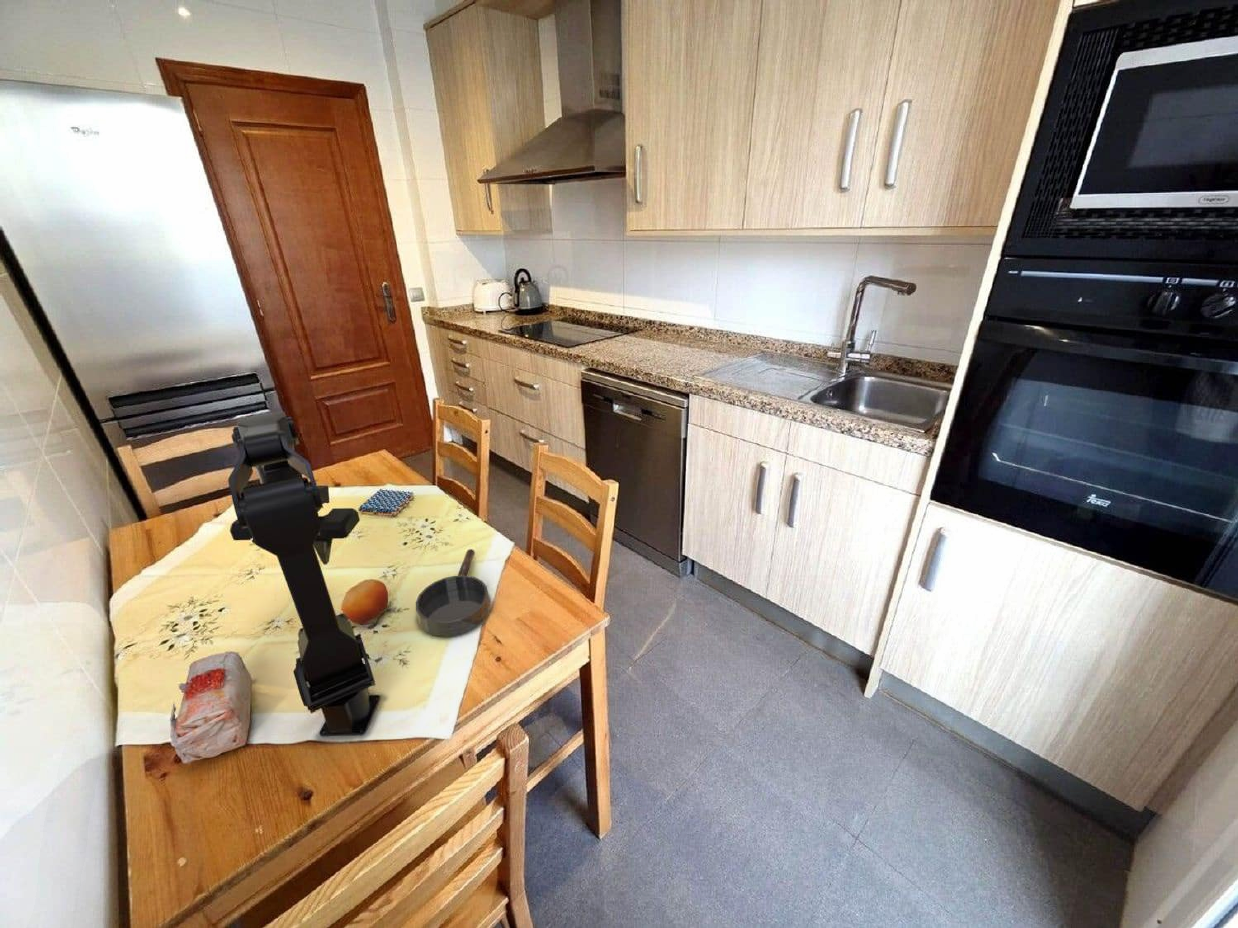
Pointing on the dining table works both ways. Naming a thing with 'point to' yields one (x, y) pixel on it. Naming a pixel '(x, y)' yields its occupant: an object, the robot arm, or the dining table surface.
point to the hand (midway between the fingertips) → (309, 563)
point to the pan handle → (466, 563)
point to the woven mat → (386, 502)
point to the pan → (452, 606)
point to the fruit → (365, 601)
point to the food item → (212, 708)
